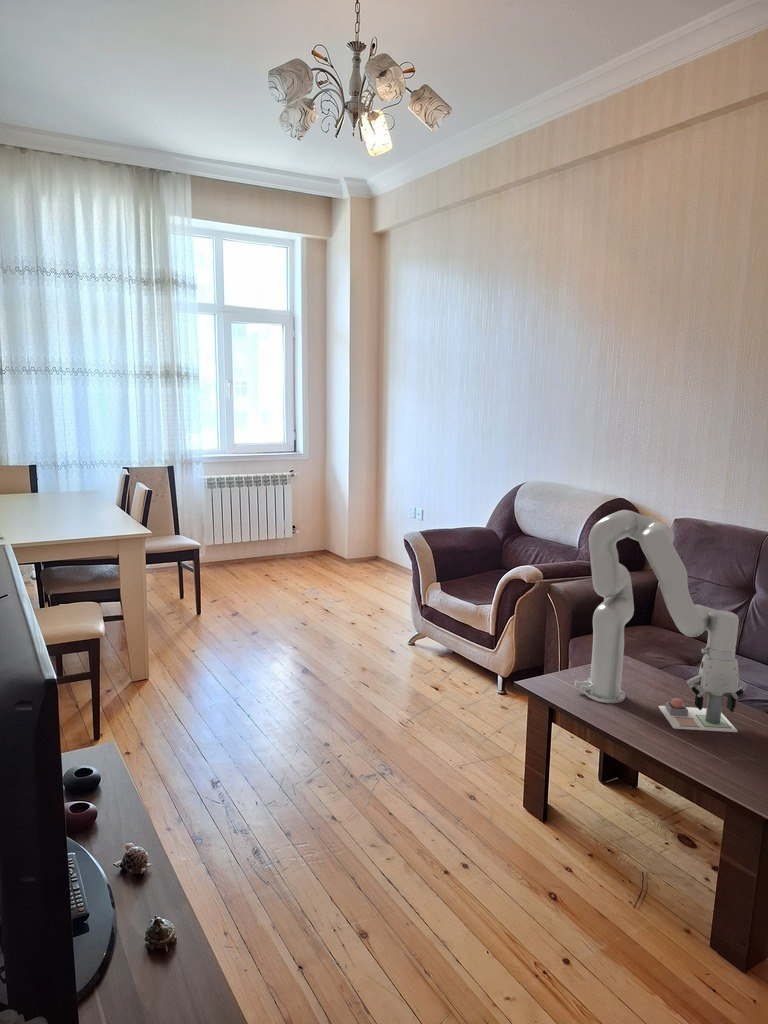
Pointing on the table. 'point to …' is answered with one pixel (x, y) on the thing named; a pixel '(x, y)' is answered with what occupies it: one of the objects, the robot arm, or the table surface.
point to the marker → (714, 707)
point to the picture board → (694, 719)
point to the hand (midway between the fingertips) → (714, 708)
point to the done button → (677, 703)
